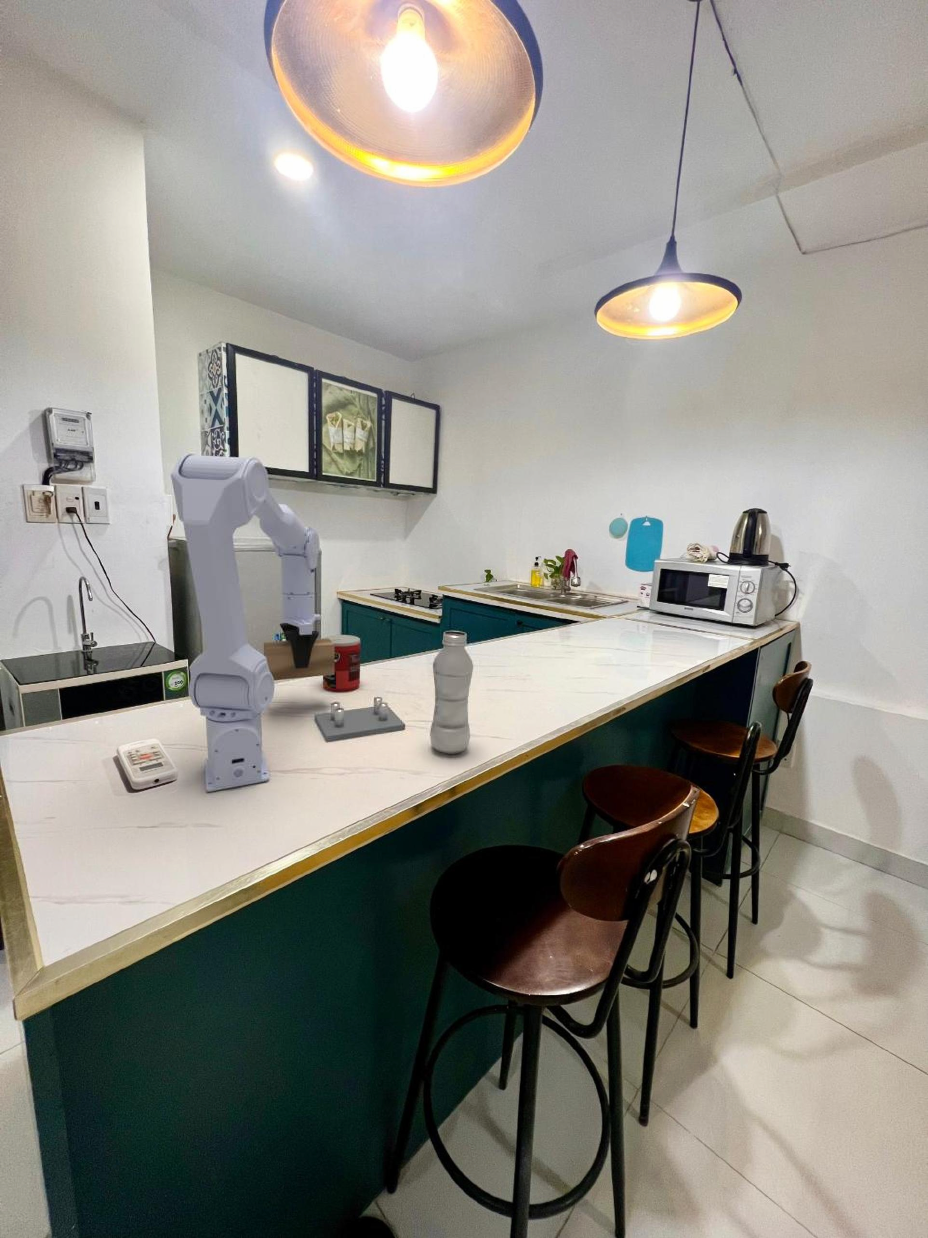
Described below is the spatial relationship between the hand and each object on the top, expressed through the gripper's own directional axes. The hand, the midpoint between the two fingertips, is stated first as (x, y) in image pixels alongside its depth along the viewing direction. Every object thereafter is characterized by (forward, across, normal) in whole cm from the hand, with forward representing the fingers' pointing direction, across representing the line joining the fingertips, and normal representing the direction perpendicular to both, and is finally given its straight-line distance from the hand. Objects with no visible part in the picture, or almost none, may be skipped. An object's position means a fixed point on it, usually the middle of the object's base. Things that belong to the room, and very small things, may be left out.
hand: (299, 663), depth 93 cm
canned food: (+10, +10, -11) cm, 18 cm away
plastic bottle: (+10, -26, -20) cm, 34 cm away
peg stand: (+9, -11, -9) cm, 17 cm away
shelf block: (+2, 0, 0) cm, 2 cm away
